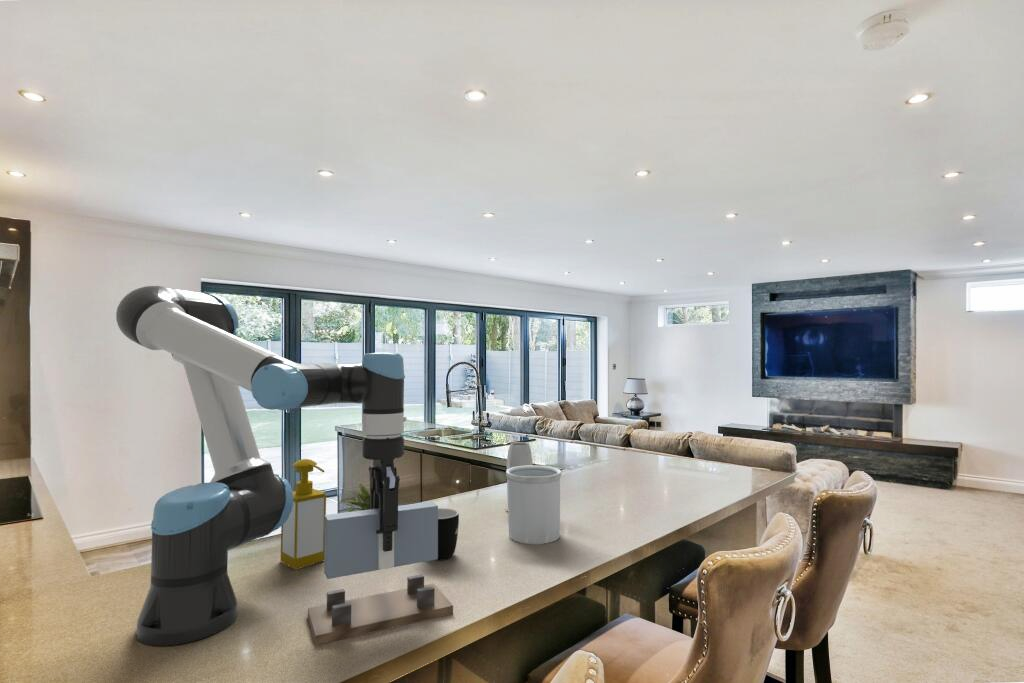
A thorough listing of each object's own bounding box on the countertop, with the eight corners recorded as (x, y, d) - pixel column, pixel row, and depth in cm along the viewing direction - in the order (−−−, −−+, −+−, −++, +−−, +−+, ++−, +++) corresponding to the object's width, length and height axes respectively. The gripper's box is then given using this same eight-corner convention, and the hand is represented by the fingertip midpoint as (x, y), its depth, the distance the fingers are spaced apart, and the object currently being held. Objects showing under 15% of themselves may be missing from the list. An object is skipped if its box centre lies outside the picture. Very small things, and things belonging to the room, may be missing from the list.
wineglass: (533, 515, 161) (533, 445, 162) (505, 514, 161) (505, 445, 162) (532, 507, 170) (533, 441, 171) (505, 507, 170) (506, 441, 171)
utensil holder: (532, 550, 131) (532, 478, 132) (494, 535, 142) (494, 469, 143) (572, 537, 141) (572, 471, 141) (534, 524, 152) (534, 463, 152)
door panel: (327, 579, 91) (327, 520, 91) (324, 572, 94) (324, 515, 94) (437, 559, 100) (437, 505, 100) (431, 553, 103) (431, 501, 104)
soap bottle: (306, 576, 114) (308, 466, 115) (280, 561, 123) (282, 459, 124) (336, 567, 119) (338, 462, 120) (310, 553, 128) (312, 455, 129)
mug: (461, 560, 123) (461, 517, 124) (422, 564, 121) (423, 519, 121) (453, 543, 135) (453, 503, 135) (417, 547, 133) (418, 506, 133)
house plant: (352, 531, 144) (353, 471, 145) (402, 532, 144) (403, 472, 145) (332, 549, 130) (334, 483, 131) (388, 550, 130) (389, 483, 130)
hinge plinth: (315, 645, 86) (315, 617, 86) (307, 616, 96) (308, 591, 96) (453, 613, 97) (453, 588, 97) (433, 590, 107) (433, 568, 107)
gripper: (416, 439, 92) (416, 575, 91) (392, 429, 107) (391, 546, 106) (373, 442, 89) (372, 584, 88) (354, 432, 104) (353, 553, 103)
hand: (383, 563), depth 97 cm, fingers closed on door panel, 4 cm apart
